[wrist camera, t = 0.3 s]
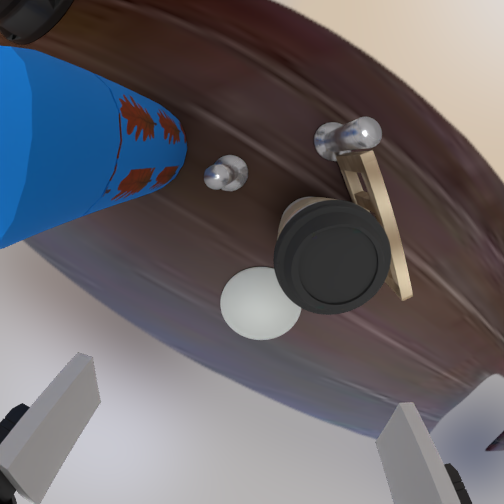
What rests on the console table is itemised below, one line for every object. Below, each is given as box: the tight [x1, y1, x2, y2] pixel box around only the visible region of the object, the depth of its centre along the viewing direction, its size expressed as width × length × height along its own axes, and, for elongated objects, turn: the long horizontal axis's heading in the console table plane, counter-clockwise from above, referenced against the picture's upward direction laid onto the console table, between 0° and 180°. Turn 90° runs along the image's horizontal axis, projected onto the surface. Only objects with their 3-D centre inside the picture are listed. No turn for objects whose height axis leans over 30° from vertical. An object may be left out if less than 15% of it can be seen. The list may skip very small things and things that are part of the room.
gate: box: [336, 151, 413, 301], centre depth 28 cm, size 14×1×9 cm, turn 23°
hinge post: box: [314, 117, 382, 161], centre depth 26 cm, size 4×4×12 cm
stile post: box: [204, 155, 248, 191], centre depth 28 cm, size 4×4×10 cm
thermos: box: [0, 46, 187, 249], centre depth 21 cm, size 11×11×25 cm
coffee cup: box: [274, 197, 391, 315], centre depth 27 cm, size 9×9×15 cm
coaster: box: [220, 267, 301, 340], centre depth 37 cm, size 10×10×1 cm
